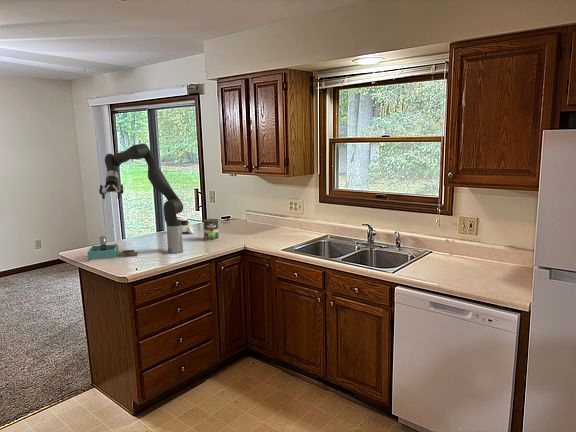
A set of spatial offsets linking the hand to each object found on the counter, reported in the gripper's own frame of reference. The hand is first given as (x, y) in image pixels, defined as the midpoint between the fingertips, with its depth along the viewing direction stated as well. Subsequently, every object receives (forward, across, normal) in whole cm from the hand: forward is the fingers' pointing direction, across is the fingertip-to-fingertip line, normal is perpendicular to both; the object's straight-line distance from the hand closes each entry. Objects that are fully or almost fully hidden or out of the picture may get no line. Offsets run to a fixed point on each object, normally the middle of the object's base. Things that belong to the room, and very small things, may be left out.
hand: (111, 198), depth 273 cm
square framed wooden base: (+38, +10, +9) cm, 41 cm away
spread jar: (-3, +46, +51) cm, 69 cm away
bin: (+37, -4, +11) cm, 39 cm away
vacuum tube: (+36, -4, +10) cm, 38 cm away
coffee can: (+16, +63, +32) cm, 72 cm away
